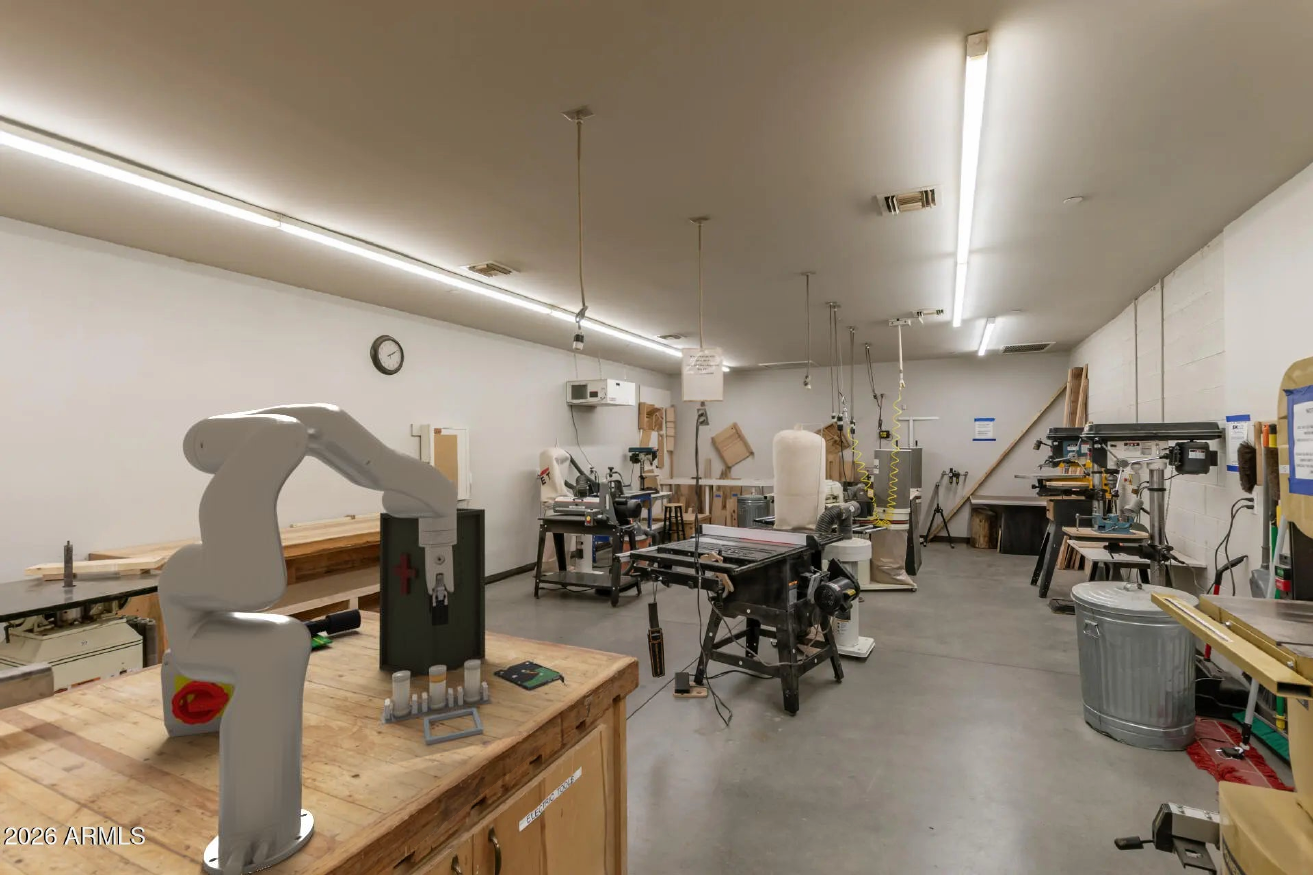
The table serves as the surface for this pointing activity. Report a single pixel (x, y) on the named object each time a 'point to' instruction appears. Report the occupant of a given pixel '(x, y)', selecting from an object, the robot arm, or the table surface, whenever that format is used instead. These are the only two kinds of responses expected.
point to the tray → (452, 735)
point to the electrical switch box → (191, 701)
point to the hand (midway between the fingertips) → (438, 618)
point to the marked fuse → (437, 687)
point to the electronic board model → (332, 625)
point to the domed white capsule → (401, 693)
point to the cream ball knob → (472, 681)
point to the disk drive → (529, 675)
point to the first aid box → (407, 598)
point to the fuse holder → (424, 710)
